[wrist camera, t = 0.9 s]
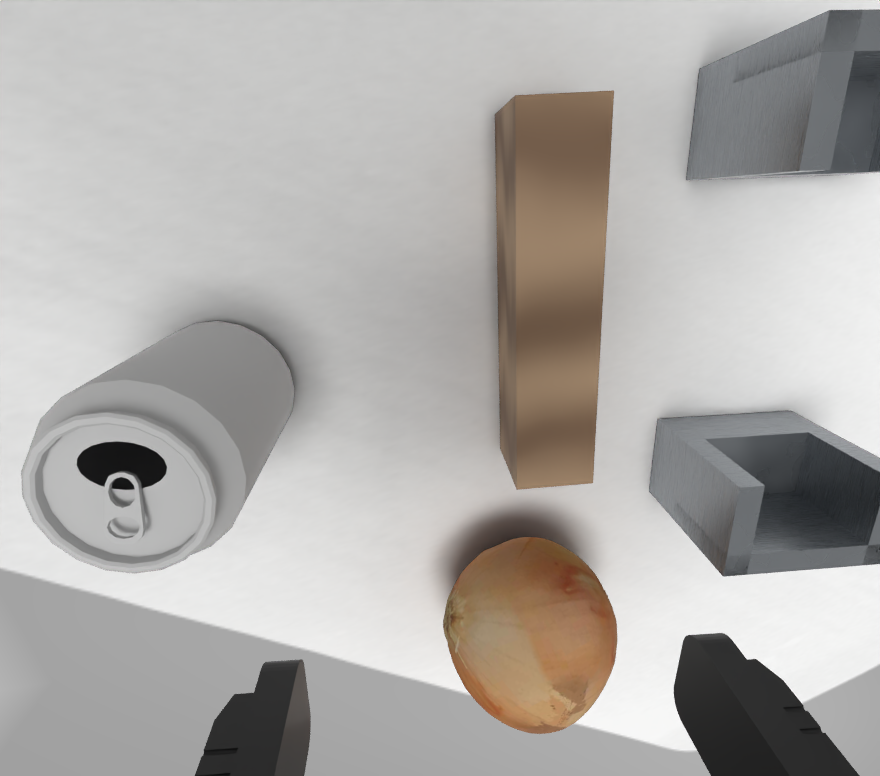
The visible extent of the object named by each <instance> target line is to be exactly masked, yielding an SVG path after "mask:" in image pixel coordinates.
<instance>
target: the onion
mask: <svg viewBox="0 0 880 776" xmlns="http://www.w3.org/2000/svg"><path fill="white" fill-rule="evenodd" d="M443 628H444V633H445V637H446V639H447V641H448V647H449V651H450V654H451V657H452V661H453V663H454V666H455V668H456V670H457V673H458V675H459V676H460V678H461V680H462V683H463V684H464V686H465V688H466V689H467V691H468V692H469V693H470V694H471V696H472V697H473V698H474V699H475V700H476V702H477V703H478V704H479V705H480V706H482V708H483V709H485V710H486V711H487V712H488V713H489V714H490V715H492V716H493V717H494V718H496V719H498V720H499V721H501V722H502V723H504V724H506V725H508V726H510V727H513V728H515V729H517V730H521V731H524V732H528V733H537V734H542V733H551V732H556V731H560V730H562V729H564V728H567V727H568V726H570V725H572V724H573V723H575V722H576V721H577V720H579V719H580V718H581V717H582V716H583V715H584V714H585V713H586V712H587V711H588V710H589V709H590V708H591V706H592V705H593V704H594V702H595V701H596V700H597V698H598V697H599V695H600V693H601V692H602V690H603V688H604V686H605V685H606V683H607V680H608V678H609V676H610V674H611V671H612V668H613V666H614V662H615V657H616V647H617V624H616V618H615V615H614V612H613V608H612V606H611V603H610V601H609V599H608V595H606V592H605V590H604V589H603V587H602V585H601V583H600V581H599V579H598V578H597V576H596V575H595V573H594V572H593V571H592V570H591V569H590V568H589V566H588V565H587V564H586V563H585V562H584V561H583V560H581V559H580V558H579V557H578V556H577V555H575V554H574V553H572V552H571V551H569V550H568V549H566V548H564V547H563V546H561V545H559V544H557V543H555V542H553V541H551V540H547V539H544V538H537V537H521V538H515V539H511V540H508V541H506V542H504V543H501V544H499V545H497V546H494V547H492V548H489V549H487V550H484V551H483V552H482V553H480V554H479V555H478V556H477V557H476V558H475V559H474V560H473V561H472V562H471V563H470V564H469V565H468V566H467V567H466V568H465V569H464V570H463V572H462V573H461V574H460V576H459V577H458V579H457V581H456V583H455V585H454V587H453V589H452V591H451V593H450V595H449V597H448V600H447V604H446V610H445V615H444V620H443Z"/></svg>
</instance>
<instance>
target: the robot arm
mask: <svg viewBox="0 0 880 776" xmlns="http://www.w3.org/2000/svg"><path fill="white" fill-rule="evenodd" d="M674 698H675V704H676V708H677V711H678V714H679V717H680V719H681V721H682V723H683V725H684V727H685V729H686V730H687V732H688V734H689V736H690V738H691V740H692V741H693V743H694V745H695V747H696V749H697V751H698V752H699V754H700V756H701V758H702V760H703V762H704V763H705V765H706V767H707V769H708V771H709V773H710V774H711V776H859V775H858V773H857V772H856V771H855V770H854V768H853V767H852V766H851V765H850V763H849V762H848V761H847V760H846V758H845V757H844V756H843V755H842V753H841V752H840V751H839V750H838V749H837V747H836V746H835V745H834V743H833V742H832V741H831V740H830V738H829V737H828V736H827V735H826V733H822V731H821V728H820V726H819V725H818V723H817V722H816V721H815V720H814V718H813V717H812V716H811V715H810V713H809V712H808V711H805V710H804V708H803V705H802V703H801V702H800V701H799V700H798V698H797V697H796V696H795V695H794V693H793V692H792V691H791V690H790V688H789V687H788V686H787V685H786V683H785V682H784V681H783V680H782V679H781V678H779V677H778V676H777V675H776V674H774V673H773V672H772V671H770V670H769V669H768V668H767V667H765V666H764V665H763V664H762V663H760V662H759V661H758V660H756V659H752V660H747V659H746V658H745V657H744V655H743V654H742V653H741V651H740V650H739V649H738V648H737V646H736V645H735V644H734V642H733V641H732V640H731V639H730V638H729V637H728V636H727V635H725V634H723V633H715V634H700V635H688V636H686V637H685V638H684V641H683V645H682V650H681V655H680V660H679V665H678V669H677V674H676V679H675V684H674ZM309 740H310V707H309V700H308V691H307V683H306V677H305V669H304V662H303V660H288V661H272V662H265V663H264V664H263V666H262V668H261V671H260V675H259V678H258V682H257V685H256V688H255V692H254V693H246V694H235V695H234V696H233V697H232V698H231V699H230V701H229V702H228V704H227V705H226V706H225V707H224V709H223V710H222V711H221V713H220V714H219V715H218V717H217V718H216V719H215V721H214V723H213V726H212V729H211V732H210V735H209V737H208V740H207V743H206V746H205V749H204V755H203V756H202V757H201V760H200V763H199V766H198V769H197V771H196V774H195V776H304V773H305V767H306V761H307V755H308V748H309Z"/></svg>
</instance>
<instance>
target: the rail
mask: <svg viewBox="0 0 880 776" xmlns="http://www.w3.org/2000/svg"><path fill="white" fill-rule="evenodd" d="M613 98H614V91H597V92H576V93H556V94H535V95H515V96H514V97H513V98H512V99H511V100H510V101H509V102H508V103H507V104H506V105H505V106H504V107H503V108H501V109H500V110H499V111H498V112H497V113H496V114H495V150H496V212H497V274H498V336H499V398H500V449H501V451H502V454H503V456H504V459H505V461H506V464H507V466H508V469H509V471H510V474H511V476H512V479H513V481H514V484H515V486H516V489H517V490H518V489H529V488H541V487H553V486H564V485H576V484H588V483H593V470H594V452H595V433H596V415H597V396H598V377H599V359H600V340H601V321H602V303H603V284H604V266H605V247H606V228H607V210H608V191H609V172H610V154H611V135H612V117H613Z"/></svg>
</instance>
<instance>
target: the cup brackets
mask: <svg viewBox="0 0 880 776" xmlns="http://www.w3.org/2000/svg"><path fill="white" fill-rule="evenodd" d="M878 172H880V10H829V11H827V12H825V13H822V14H820V15H818V16H816V17H813V18H811V19H809V20H807V21H805V22H802V23H800V24H798V25H796V26H793V27H791V28H789V29H787V30H785V31H782V32H780V33H778V34H776V35H773V36H771V37H769V38H767V39H765V40H762V41H760V42H758V43H756V44H753V45H751V46H749V47H747V48H745V49H742V50H740V51H738V52H736V53H733V54H731V55H729V56H727V57H725V58H722V59H720V60H718V61H716V62H713V63H711V64H709V65H707V66H705V67H702V68H700V70H699V78H698V86H697V95H696V103H695V111H694V120H693V128H692V137H691V145H690V153H689V162H688V170H687V178H686V180H707V179H736V178H765V177H794V176H824V175H847V174H863V173H878ZM649 492H650V493H651V494H652V495H653V496H654V497H655V498H656V500H657V501H658V502H659V503H660V504H661V505H662V507H663V508H664V509H665V510H666V511H667V512H668V513H669V515H670V516H671V517H672V518H673V519H674V520H675V522H676V523H677V524H678V525H679V526H680V527H681V528H682V530H683V531H684V532H685V533H686V534H687V535H688V536H689V538H690V539H691V540H692V541H693V542H694V543H695V545H696V546H697V547H698V548H699V549H700V550H701V551H702V553H703V554H704V555H705V556H706V557H707V558H708V560H709V561H710V562H711V563H712V564H713V565H714V566H715V568H716V569H717V570H718V571H719V572H720V573H721V575H722V576H735V575H747V574H760V573H772V572H785V571H797V570H810V569H822V568H834V567H847V566H859V565H872V564H880V458H879V457H877V456H875V455H873V454H871V453H870V452H868V451H866V450H864V449H862V448H860V447H858V446H856V445H855V444H853V443H851V442H849V441H847V440H845V439H843V438H841V437H839V436H838V435H836V434H834V433H832V432H830V431H828V430H826V429H824V428H822V427H821V426H819V425H817V424H815V423H813V422H811V421H809V420H807V419H805V418H804V417H802V416H800V415H798V414H796V413H794V412H792V411H779V412H763V413H746V414H730V415H714V416H698V417H682V418H665V419H658V421H657V429H656V438H655V446H654V455H653V463H652V471H651V480H650V488H649Z"/></svg>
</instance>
